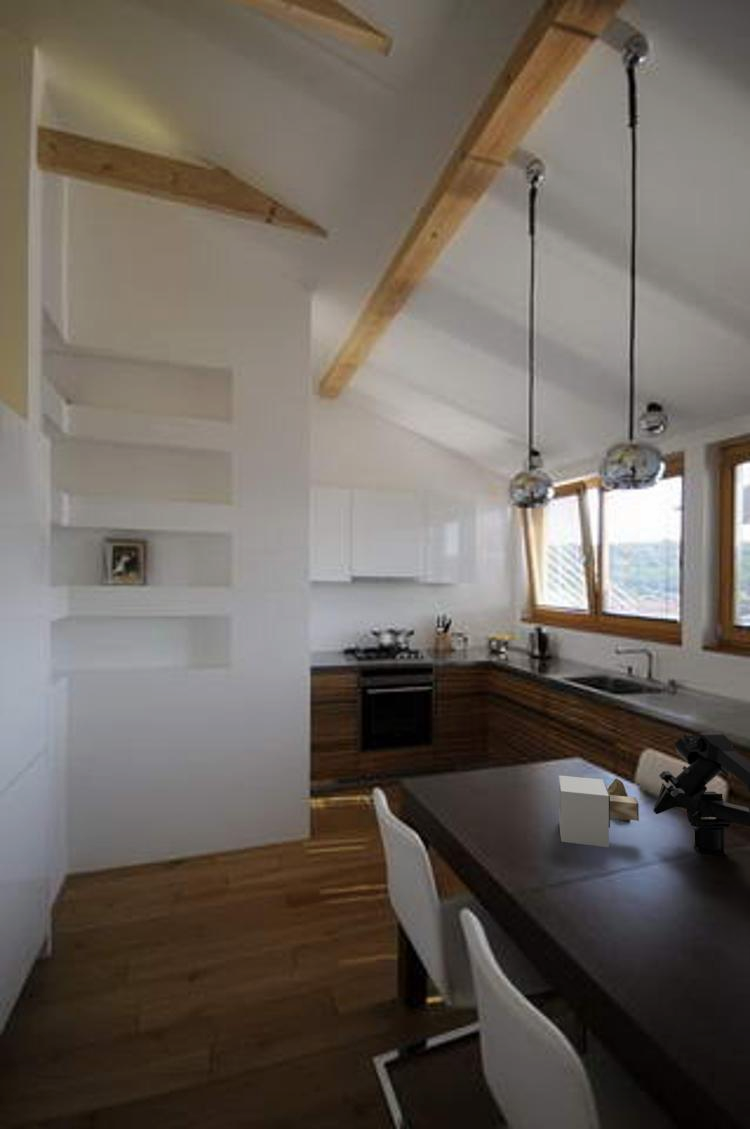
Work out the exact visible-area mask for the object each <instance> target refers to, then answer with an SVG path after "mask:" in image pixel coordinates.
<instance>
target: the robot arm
mask: <svg viewBox="0 0 750 1129" xmlns="http://www.w3.org/2000/svg"><path fill="white" fill-rule="evenodd" d="M674 748H675V749H674V750H675V751H676V753H678V755H680V757H681V758H683V760H685V762H687V764H689V765H688V766H686V765H684V766H683V767H682V771H681V772H680V773H679V774H678V775H676V776H675V775H673V774H672V773H671V772H670V771H668V770H664V771H662V772H661V773H660V774H658V775H659V778H661V780H663V781H664V782H665V783H666V784H664V783H663V782H662V783H661V787H660V791H659V794H658V796H657V799H656V802H655V805H654V807H653V809H652V810H653V813H654V814H656V815H659V814H661V813H664V812H666V811H670V810H671V809H673V808H674V809H675V808H681V809H683V810H685V811H686V815H687V820H688V822H689V823H690V826H692V829H691V832H692V833H691V836H692V838H691V839H692V844H693V846H694V847H695V848H696V850H697V851H698V852H699V853H703V854H704V853H705V854H713V855H719V856H720V855H721V856H727V852H726V850H725V829H731V826H732V823H733V824H737V825H741V826H743V827H746V828H750V802H749V805H748V807H746V806H743V805H739V804H733V803H729V802H725V800H724V797H723V793H718V792H716V791H707V789H708V787H707V785H708V783H710V782H711V781H713V779H715V778H716V777H717V776H718V775H719V774H721V773H722V774H723V775H724V776H725V777H729V773H731V775H733V776H734V777H735V778H736V779H738V780H739V782H741V784H742V783H743V784H744V785H745V786H746V787H747V789H748V791H749V793H750V761H749V760H748V759H746V758H745V757H744V756H742V755H741V754H740V753H738V752H737V751H736V750H735V749H734V745H733V742H732V741H730V739H729V738H728V737H727V736H726V735H725V734H724V733H722V732H712V733H711V732H706V733H705V732H702V733H701V732H700V733H697V734H696V736H694V735H693V734H692V733H684V734H683V737H681V738H679V739H678V740H677V741H676V743H675V744H674Z"/></svg>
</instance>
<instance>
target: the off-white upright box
mask: <svg viewBox="0 0 750 1129" xmlns="http://www.w3.org/2000/svg"><path fill="white" fill-rule="evenodd" d="M558 824H559V832H560V833H559V835H560V842H563V843H570V844H578V845H585V846H586V845H587V846H595V847H603V848H610V839H609V838H610V829H611V818H610V795H609V792H608V786H607V784H605V783H604V779H603V778H590V777H579V776H578V777H577V776H570V775H558Z"/></svg>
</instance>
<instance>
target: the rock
mask: <svg viewBox="0 0 750 1129" xmlns="http://www.w3.org/2000/svg"><path fill="white" fill-rule="evenodd" d="M607 789H608V792H609V795H615V796H625V797H629V796H628V792H627V791H626V788H625V785H624V782H623V781H622V780H620V779H619V778H614V780H613V781H612V782H611V784H610V785H609V786H608V787H607ZM620 820H621V821H623V822H624V821H625V822H629V821H630V822H631V820H628V819H620Z"/></svg>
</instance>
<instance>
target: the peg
mask: <svg viewBox="0 0 750 1129" xmlns="http://www.w3.org/2000/svg"><path fill="white" fill-rule="evenodd" d="M639 806H640V805H639V801H638V799H637V798H636V796H634V797H632V796H628V797H625V796H615V795H610V819H611V818H612V819H619V820H621V819H628V820H630V821H636V822H637V821H640V820H639V819H640V817H639V816H640V815H639V814H640V813H639V811H640V810H639V808H640V807H639Z"/></svg>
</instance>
